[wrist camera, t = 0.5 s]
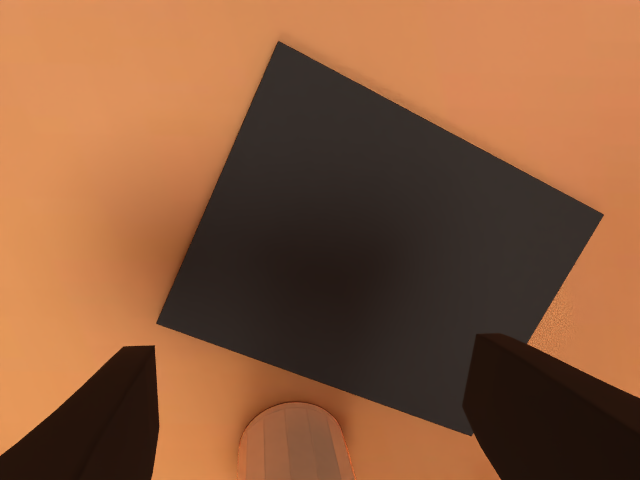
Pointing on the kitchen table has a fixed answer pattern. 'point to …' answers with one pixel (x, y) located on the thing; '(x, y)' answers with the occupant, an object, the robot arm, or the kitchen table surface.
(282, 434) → the cream cup
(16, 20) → the kitchen table surface
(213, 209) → the placemat
